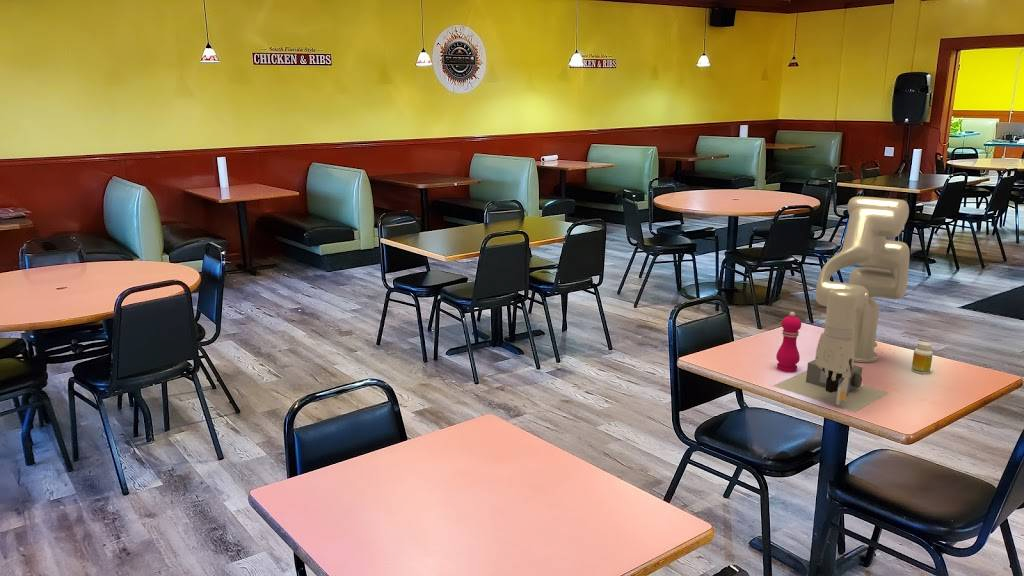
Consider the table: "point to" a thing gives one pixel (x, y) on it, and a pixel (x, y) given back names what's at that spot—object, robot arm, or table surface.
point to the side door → (842, 390)
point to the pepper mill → (789, 344)
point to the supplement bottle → (922, 358)
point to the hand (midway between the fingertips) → (831, 391)
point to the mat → (853, 399)
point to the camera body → (818, 378)
